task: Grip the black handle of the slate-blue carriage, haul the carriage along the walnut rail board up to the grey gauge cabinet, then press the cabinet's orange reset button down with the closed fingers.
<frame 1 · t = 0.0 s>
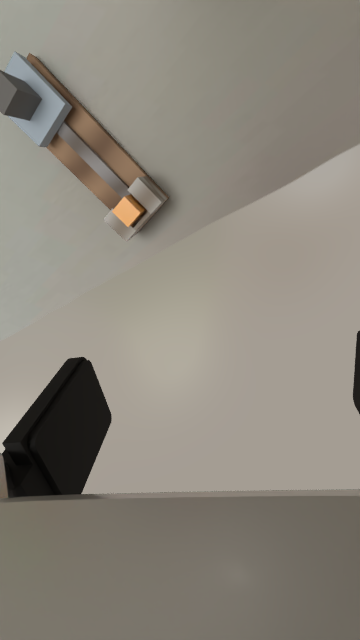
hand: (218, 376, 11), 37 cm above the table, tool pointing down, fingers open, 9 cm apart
carriage: (20, 99, 34), point 6 cm above the table, slide at 0.0 cm
reset button: (130, 210, 38), point 7 cm above the table, slide at 0.0 cm
rail board: (92, 153, 42), on the table
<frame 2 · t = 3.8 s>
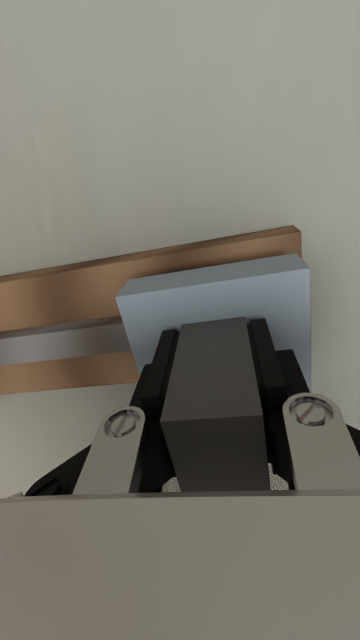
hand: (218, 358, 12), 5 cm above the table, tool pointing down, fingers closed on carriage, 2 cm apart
carriage: (218, 376, 11), point 6 cm above the table, slide at 0.0 cm, touching gripper
rail board: (90, 321, 18), on the table
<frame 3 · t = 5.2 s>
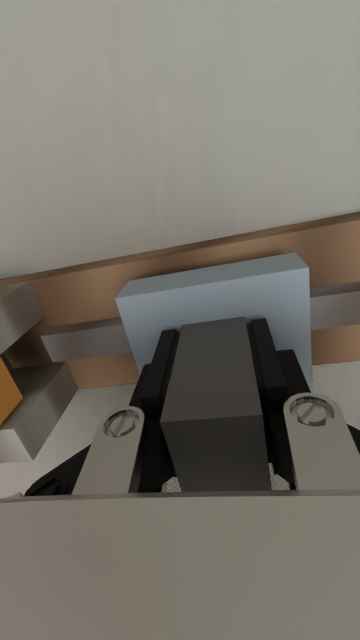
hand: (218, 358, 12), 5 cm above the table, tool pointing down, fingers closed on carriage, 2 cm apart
carriage: (218, 377, 11), point 6 cm above the table, slide at 6.0 cm, touching gripper
rail board: (190, 309, 17), on the table
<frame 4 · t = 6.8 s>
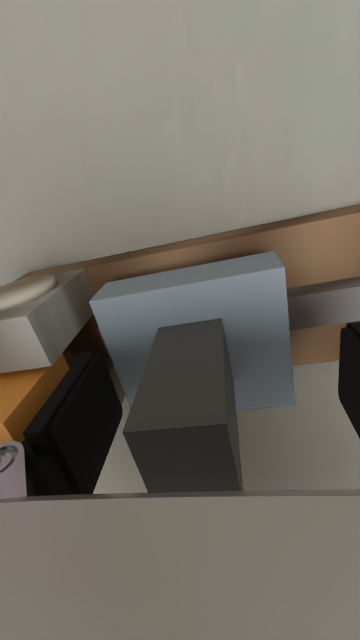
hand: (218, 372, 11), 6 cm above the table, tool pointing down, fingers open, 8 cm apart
carriage: (195, 380, 10), point 6 cm above the table, slide at 10.2 cm
reset button: (19, 410, 11), point 7 cm above the table, slide at -0.2 cm, touching gripper
rail board: (253, 296, 16), on the table
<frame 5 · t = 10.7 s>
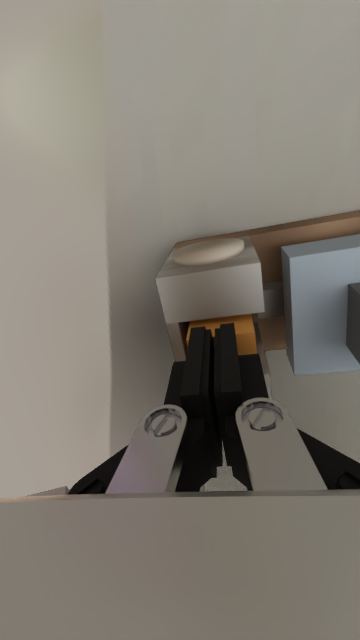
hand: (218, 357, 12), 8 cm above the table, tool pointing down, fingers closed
reset button: (223, 338, 14), point 6 cm above the table, slide at 1.1 cm, touching gripper
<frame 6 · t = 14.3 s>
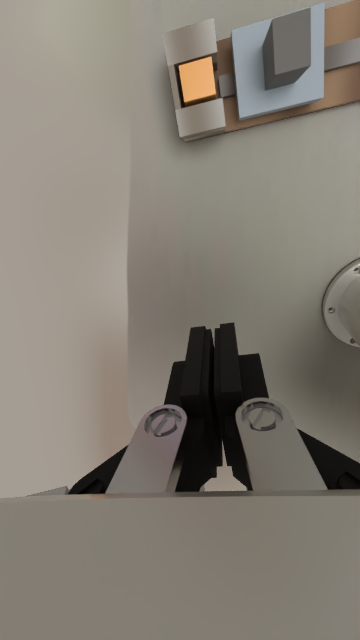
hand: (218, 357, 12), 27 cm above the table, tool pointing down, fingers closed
carriage: (282, 58, 23), point 6 cm above the table, slide at 10.2 cm
reset button: (198, 85, 26), point 5 cm above the table, slide at 1.6 cm
rail board: (298, 71, 28), on the table
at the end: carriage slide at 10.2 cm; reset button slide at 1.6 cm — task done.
